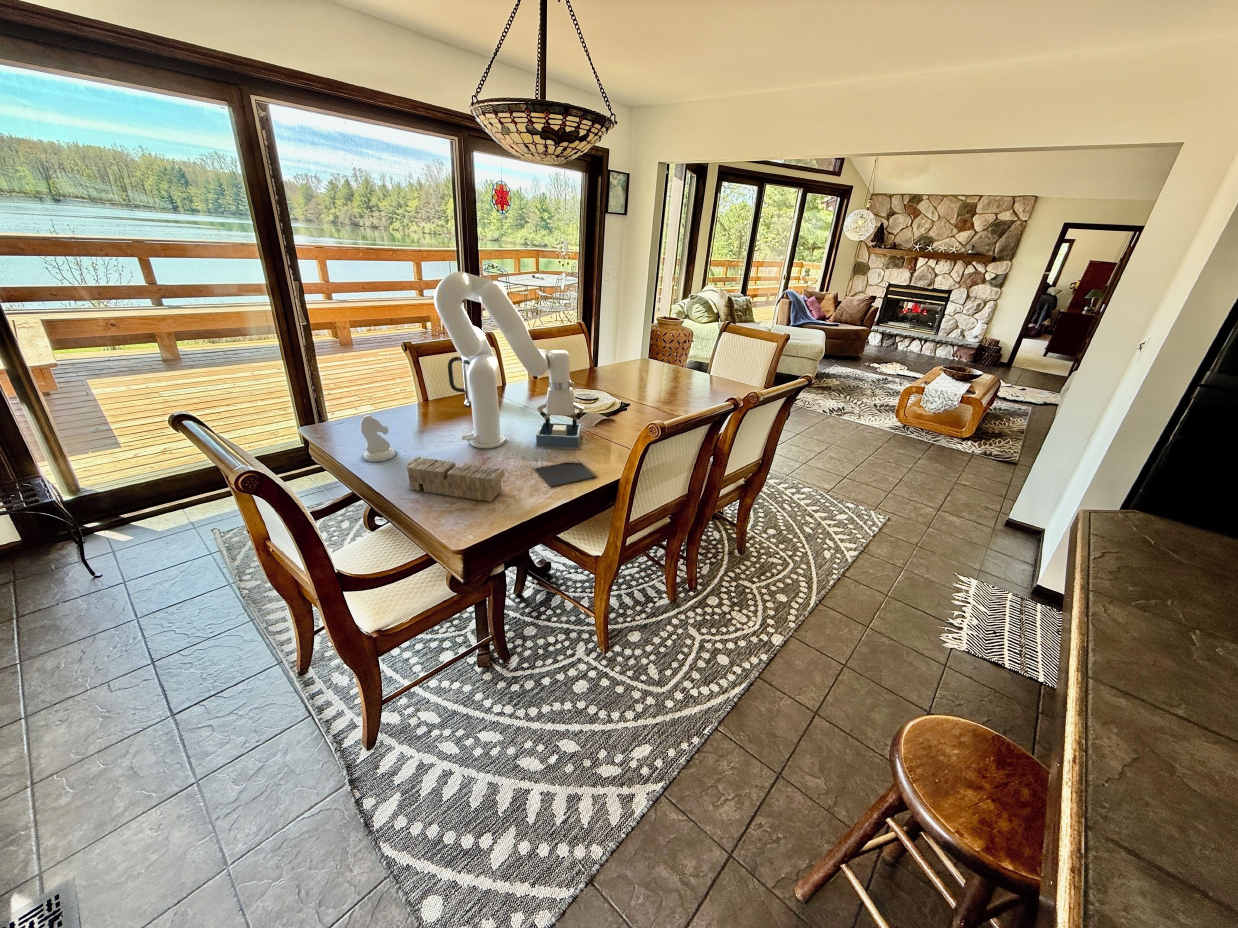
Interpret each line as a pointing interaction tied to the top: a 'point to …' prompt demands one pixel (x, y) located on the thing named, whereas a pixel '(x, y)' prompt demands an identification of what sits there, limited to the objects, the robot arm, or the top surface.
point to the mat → (565, 473)
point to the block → (559, 430)
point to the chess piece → (375, 440)
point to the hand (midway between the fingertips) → (561, 428)
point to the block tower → (455, 478)
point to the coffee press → (465, 376)
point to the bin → (547, 439)
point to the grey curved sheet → (592, 418)
